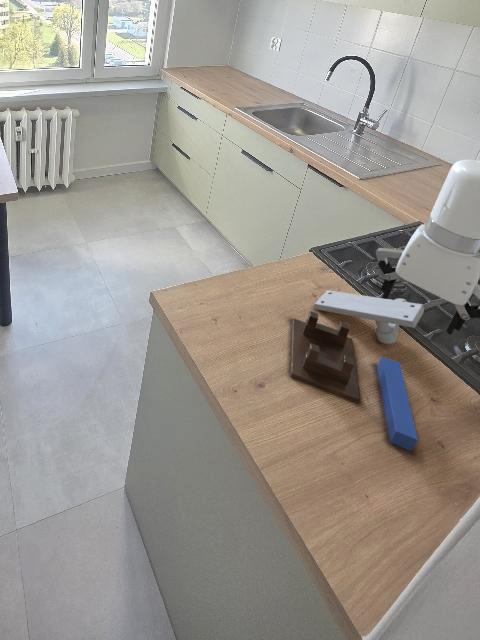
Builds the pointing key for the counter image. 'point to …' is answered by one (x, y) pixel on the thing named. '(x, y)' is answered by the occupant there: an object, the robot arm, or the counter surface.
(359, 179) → the counter surface
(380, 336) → the door handle
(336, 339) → the holder
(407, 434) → the blue bar
